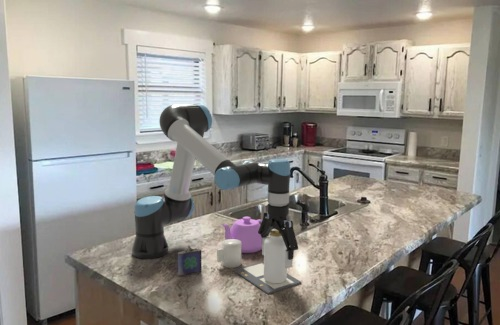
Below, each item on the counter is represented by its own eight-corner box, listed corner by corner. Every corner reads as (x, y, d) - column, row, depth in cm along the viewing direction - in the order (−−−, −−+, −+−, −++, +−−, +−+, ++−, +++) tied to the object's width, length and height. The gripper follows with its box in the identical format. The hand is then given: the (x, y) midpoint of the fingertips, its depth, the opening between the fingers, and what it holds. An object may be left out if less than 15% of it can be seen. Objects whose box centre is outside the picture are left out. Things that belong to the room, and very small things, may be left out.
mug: (234, 258, 171) (234, 237, 169) (244, 264, 165) (245, 243, 163) (213, 264, 165) (213, 242, 164) (222, 270, 159) (222, 248, 157)
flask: (179, 277, 153) (178, 249, 151) (176, 274, 156) (176, 246, 154) (202, 272, 157) (202, 245, 156) (199, 269, 160) (199, 243, 158)
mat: (267, 294, 141) (267, 292, 140) (233, 271, 159) (233, 269, 158) (301, 283, 149) (301, 281, 149) (265, 262, 167) (265, 261, 167)
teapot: (252, 236, 198) (252, 208, 195) (278, 246, 185) (279, 217, 182) (209, 248, 182) (209, 218, 179) (235, 260, 168) (235, 228, 166)
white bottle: (261, 275, 154) (262, 228, 151) (283, 274, 155) (284, 228, 152) (265, 285, 146) (266, 236, 143) (288, 284, 147) (290, 235, 144)
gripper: (310, 210, 136) (307, 270, 140) (265, 194, 157) (264, 247, 161) (292, 214, 132) (290, 276, 136) (249, 196, 153) (248, 251, 156)
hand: (276, 260), depth 148 cm, fingers open, 13 cm apart
